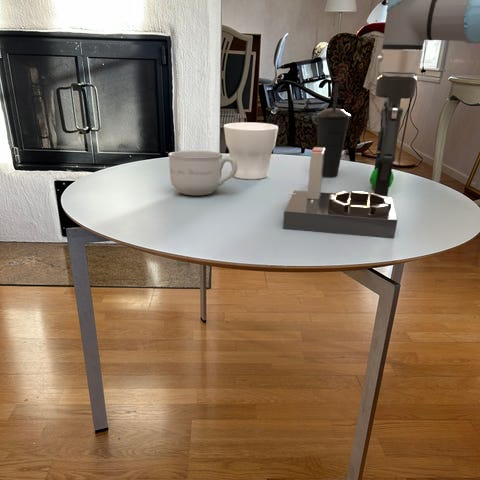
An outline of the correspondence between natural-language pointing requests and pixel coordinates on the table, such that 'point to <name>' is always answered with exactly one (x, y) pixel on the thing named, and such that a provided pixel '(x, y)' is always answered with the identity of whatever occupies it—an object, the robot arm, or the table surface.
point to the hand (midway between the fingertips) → (379, 188)
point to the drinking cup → (332, 136)
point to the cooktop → (334, 218)
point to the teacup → (198, 171)
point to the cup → (251, 147)
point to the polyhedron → (374, 175)
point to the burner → (359, 204)
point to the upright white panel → (315, 173)
